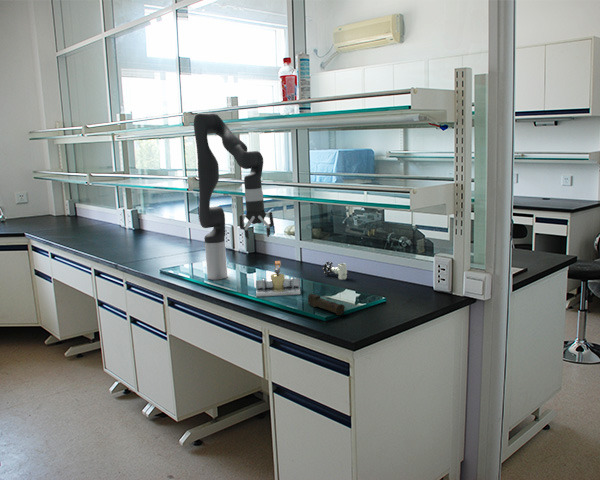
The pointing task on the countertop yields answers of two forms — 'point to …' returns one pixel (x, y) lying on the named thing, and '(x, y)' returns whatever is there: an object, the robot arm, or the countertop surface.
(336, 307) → the hand tool
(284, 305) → the countertop surface
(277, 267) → the valve lever
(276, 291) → the valve manifold
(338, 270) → the valve
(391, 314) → the countertop surface
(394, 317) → the countertop surface
